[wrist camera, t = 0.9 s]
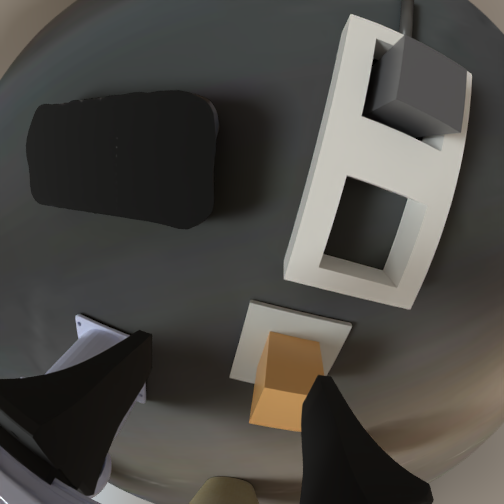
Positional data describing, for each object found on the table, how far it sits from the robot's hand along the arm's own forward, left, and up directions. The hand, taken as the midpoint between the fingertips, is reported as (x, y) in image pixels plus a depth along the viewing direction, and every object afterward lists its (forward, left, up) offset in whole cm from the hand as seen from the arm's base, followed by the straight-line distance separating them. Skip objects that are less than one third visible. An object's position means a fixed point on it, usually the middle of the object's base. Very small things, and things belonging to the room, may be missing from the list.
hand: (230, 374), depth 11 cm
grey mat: (-5, -4, -10) cm, 12 cm away
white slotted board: (+14, -6, -10) cm, 18 cm away
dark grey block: (+15, -6, -10) cm, 19 cm away
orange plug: (-5, -4, -9) cm, 11 cm away
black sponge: (+7, +12, -10) cm, 17 cm away
